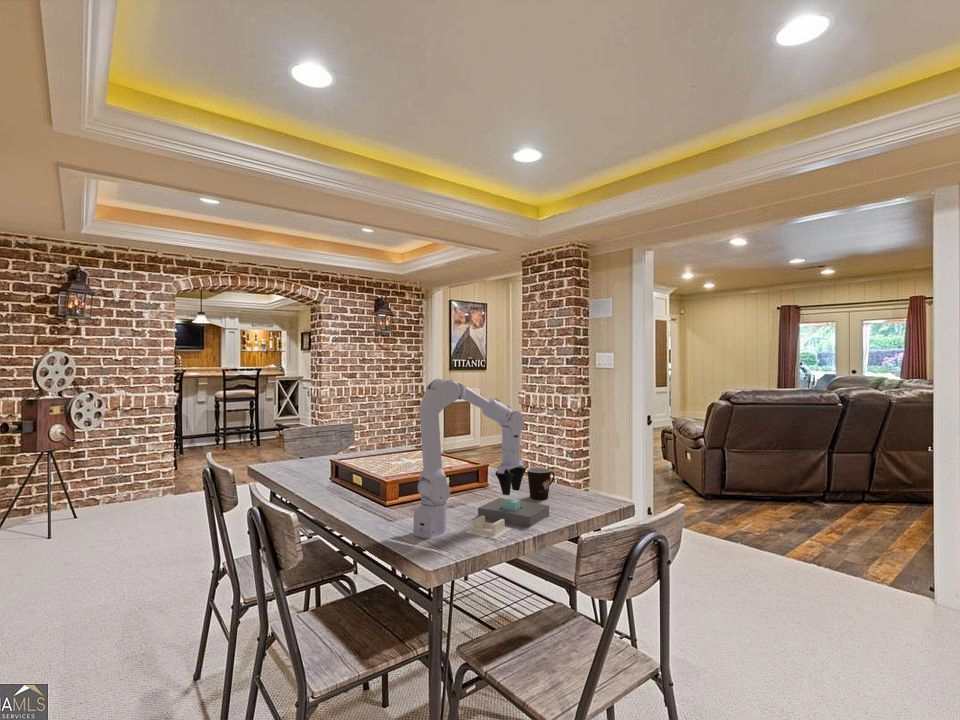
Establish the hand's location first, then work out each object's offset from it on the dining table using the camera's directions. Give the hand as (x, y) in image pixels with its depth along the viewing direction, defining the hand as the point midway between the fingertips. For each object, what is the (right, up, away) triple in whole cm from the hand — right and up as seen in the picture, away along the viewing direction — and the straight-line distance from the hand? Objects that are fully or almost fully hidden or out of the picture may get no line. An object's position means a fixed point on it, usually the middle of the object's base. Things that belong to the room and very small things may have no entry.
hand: (511, 492), depth 162 cm
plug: (0, -9, 0) cm, 9 cm away
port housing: (+1, -8, +2) cm, 9 cm away
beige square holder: (-7, -8, -12) cm, 16 cm away
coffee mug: (+13, -9, +26) cm, 30 cm away
